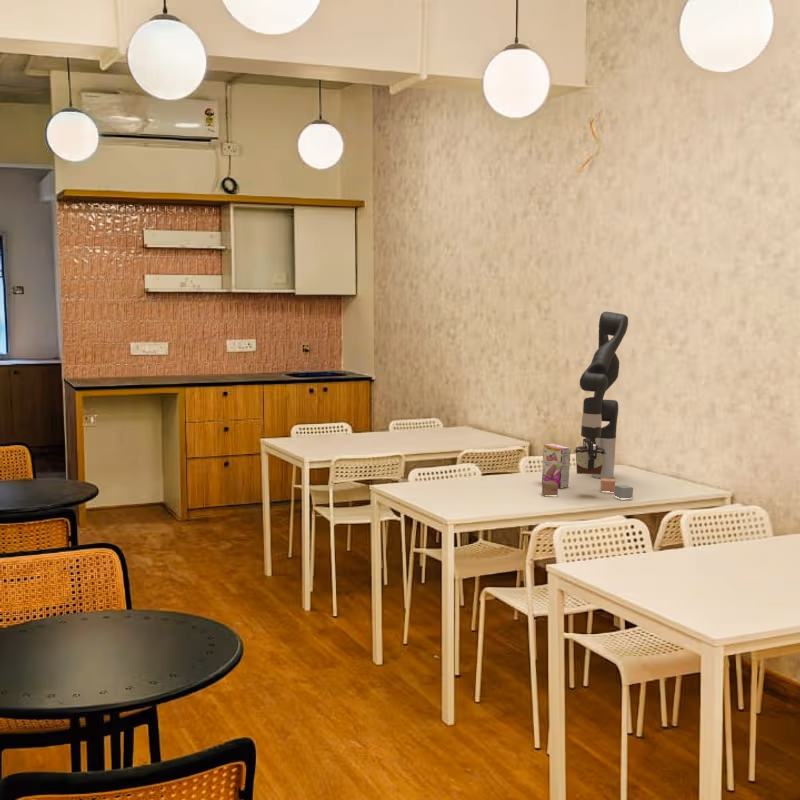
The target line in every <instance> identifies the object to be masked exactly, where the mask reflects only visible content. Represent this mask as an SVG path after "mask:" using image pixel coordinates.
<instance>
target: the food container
mask: <svg viewBox="0 0 800 800" xmlns="http://www.w3.org/2000/svg"><path fill="white" fill-rule="evenodd" d="M589 451H590V450H589ZM573 454H575V464H576V465H575V467H576V468H575V469H576V474H577V475H591V476H592V475H601V473H602V467H603V461H604V455H606V451H605V449H603V448H600V447H598V449H597V458H596V459H595V460H594V469H593V470H591V469H588V454H587V449H584V446H583V445H582V446H580V445H579V446H576V447H575V448H574V452H573ZM592 456H593V454H592Z"/></svg>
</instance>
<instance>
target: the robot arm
mask: <svg viewBox="0 0 800 800" xmlns="http://www.w3.org/2000/svg"><path fill="white" fill-rule="evenodd" d="M628 327H629V317H628V316H627V315H626V314H623V313H618V312H612V311H603V312H602V313H601V314H600V317H599V321H598V348H597V349H596V351H595V353H594V355H593V358H592V359H591V362H590V364H589V365H588V367H587V368H586V369H585V370H584V371H583V373H582V374H581V376H580V379H579V387H580V389H581V390H582V391H585V392H592V393H593V392H594V393H593V396H589V397H585V398H584V400H583V404H582V405H583V407H582V416H581V427H580V432H581V433H580V436H581V437H582V438H583V440H582V446H584V449H587V454H588V469H591V470H593V469H594V460H595V459H596V458H597V449H598V447H600V448H603V449H605V451H606V455H604V461H603V467H602V473H601V475H591V477H593V478H596V479H601V478H606V479H614V476H615V475H614V474H615V472H614V471H615V459H616V443H617V442H616V441H617V440H616V439H617V426H618V425H617V424H618V415H619V402H618V401H617V400H616V399H604V397H605V393H606V392H607V391H608V389H610V388H611V386H612V385H614V384H615V382H616V381H617V380H618V378H619V373H620V372H619V371H620V360H619V358H618V355H617V353H616V352H617V349H619V346H620V345H621V343H622V341H623V339H624V337H625V335H626V332H627V331H628ZM609 336H611V338H610V339H609ZM603 422H609V423H608V424H606V425H605V426H603V427H602V423H603ZM589 450H590V451H589ZM592 454H593V456H592Z"/></svg>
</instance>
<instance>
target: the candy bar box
mask: <svg viewBox="0 0 800 800" xmlns="http://www.w3.org/2000/svg"><path fill="white" fill-rule="evenodd" d="M542 454H543V455H542V474H541V484H542V483H543V481H552V482H556V483H557V484H558V487H559V488H558V489H563V488H562V487H567V488H569V485H570V484H569V483H570V482H569V479H570V461H571V448H570V447H568V446H567V447H566V446H563V445H559V444H556V443H555V444H554V443H545V444H543V453H542Z"/></svg>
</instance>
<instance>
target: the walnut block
mask: <svg viewBox="0 0 800 800" xmlns="http://www.w3.org/2000/svg"><path fill="white" fill-rule="evenodd" d="M541 484H542V485H541V494H542V493H543V494H544V495H557V496H558V489H559V488H558V484H557V483H556V482H552V481H543V483H542V482H541ZM543 494H542V495H543ZM544 495H543V496H544Z"/></svg>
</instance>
